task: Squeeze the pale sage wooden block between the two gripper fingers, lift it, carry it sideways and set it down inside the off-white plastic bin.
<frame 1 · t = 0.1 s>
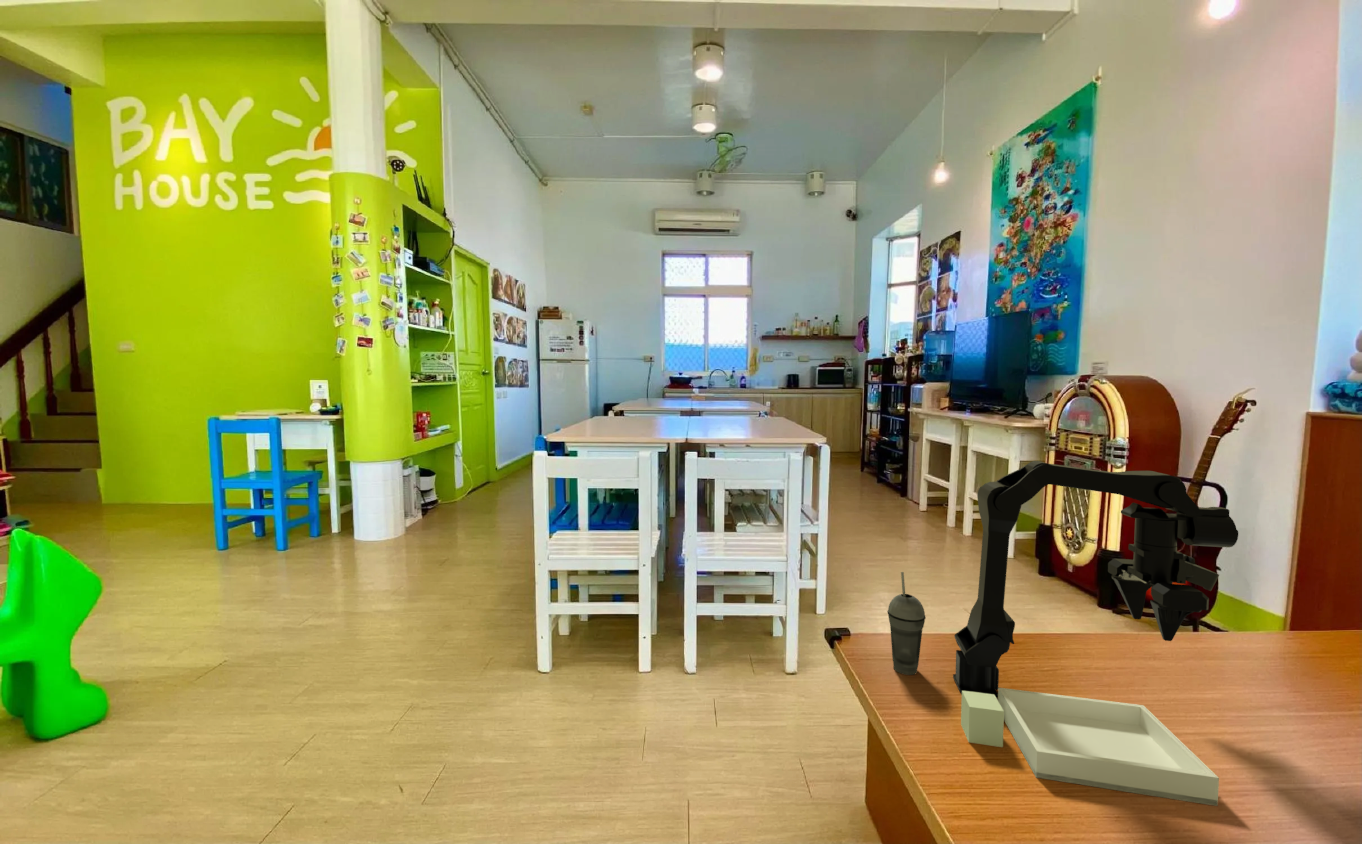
hand: (1151, 629, 96), 15 cm above the table, fingers open, 9 cm apart
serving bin: (1092, 751, 86), on the table
sage block: (981, 735, 90), on the table
beverage cup: (905, 670, 111), on the table
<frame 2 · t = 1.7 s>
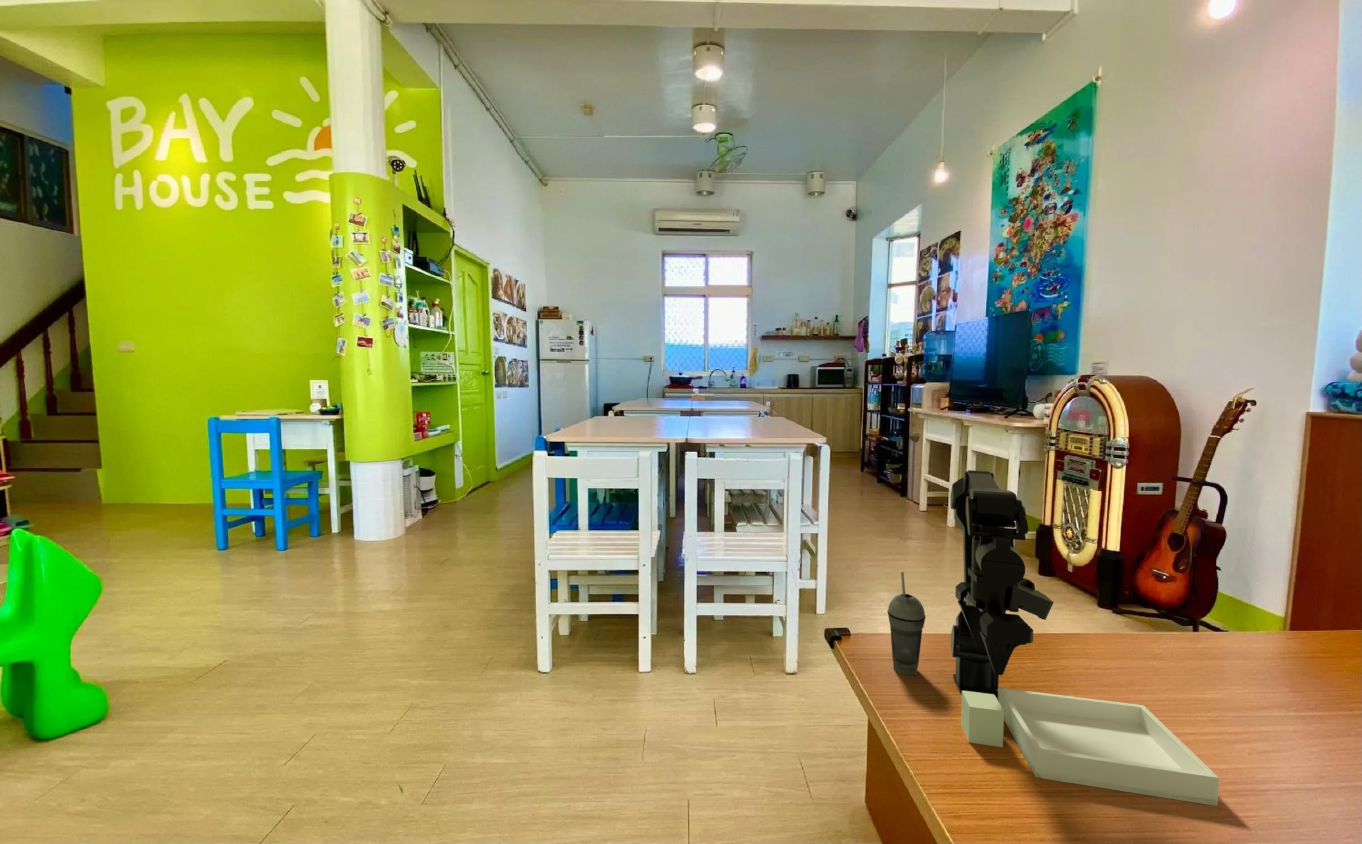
hand: (988, 660, 89), 13 cm above the table, fingers open, 9 cm apart
nothing on the table moved.
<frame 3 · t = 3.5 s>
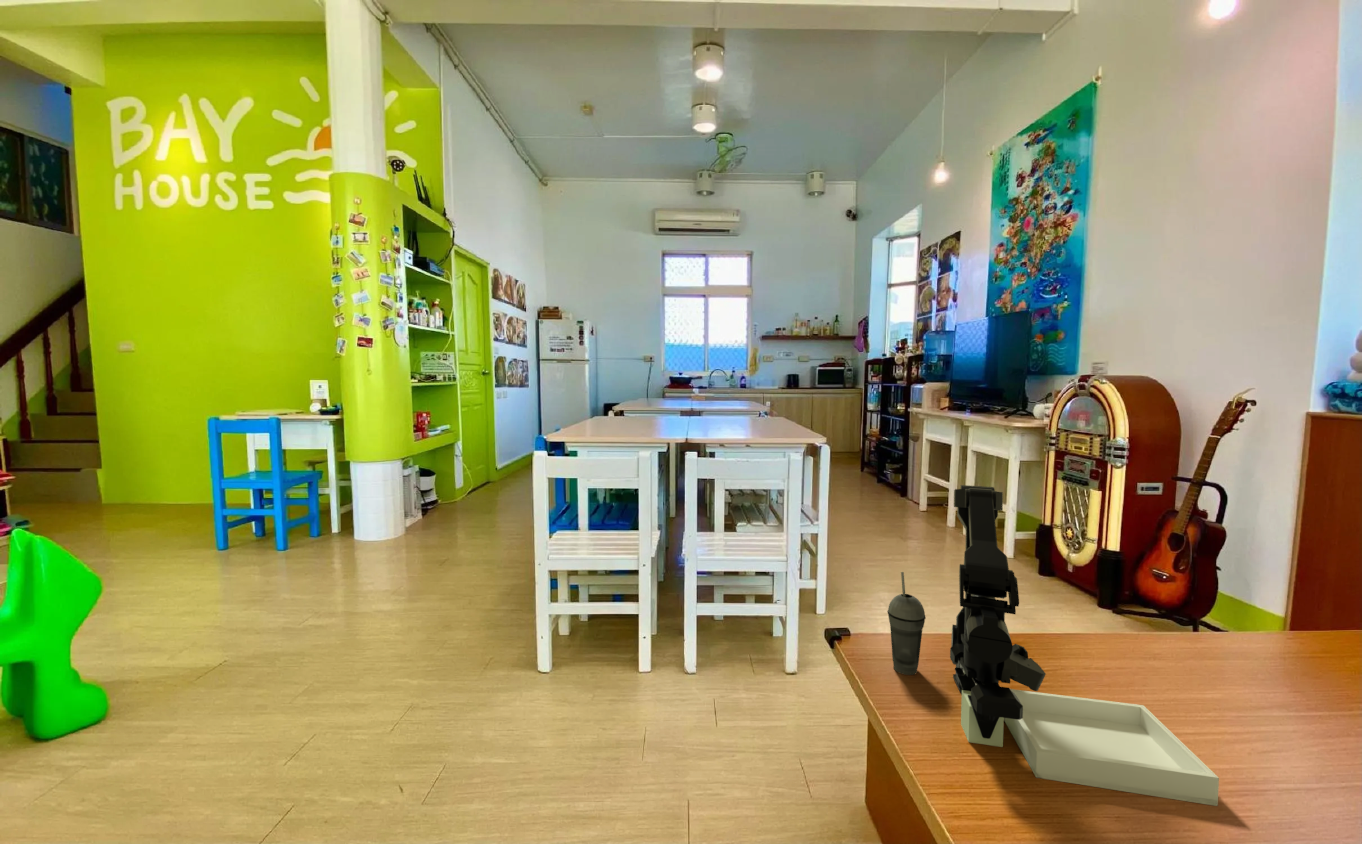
hand: (981, 728, 90), 1 cm above the table, fingers closed on sage block, 5 cm apart
sage block: (981, 735, 90), on the table, touching gripper
everything else where it was.
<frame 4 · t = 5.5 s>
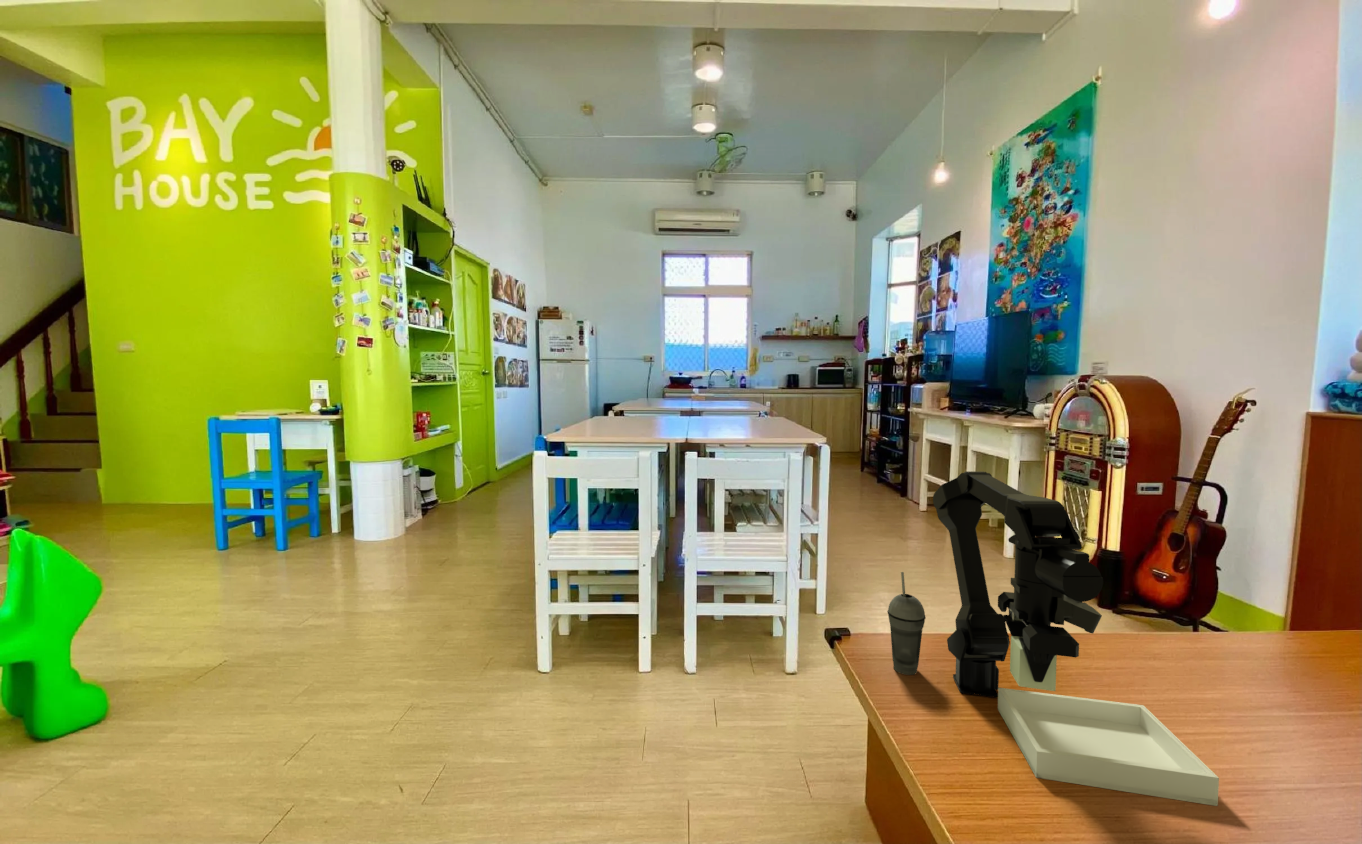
hand: (1032, 673, 87), 12 cm above the table, fingers closed on sage block, 5 cm apart
sage block: (1031, 680, 87), point 10 cm above the table, touching gripper
everything else where it was.
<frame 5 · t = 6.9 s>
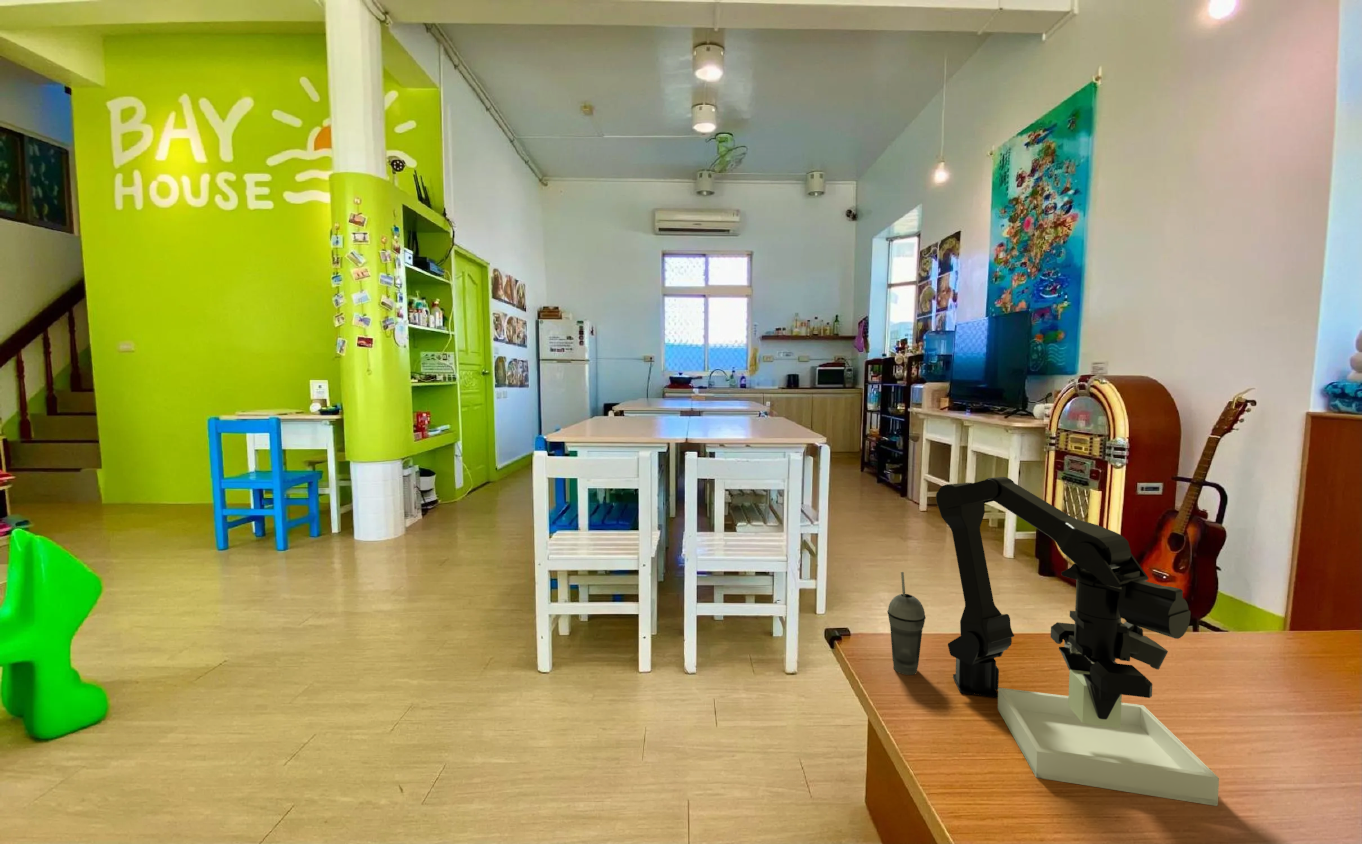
hand: (1093, 708, 85), 7 cm above the table, fingers closed on sage block, 5 cm apart
sage block: (1093, 716, 85), point 6 cm above the table, touching gripper
everything else where it was.
when the fingers open (4 cm above the table, at t = 7.8 s): sage block drops 2 cm, resting on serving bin.
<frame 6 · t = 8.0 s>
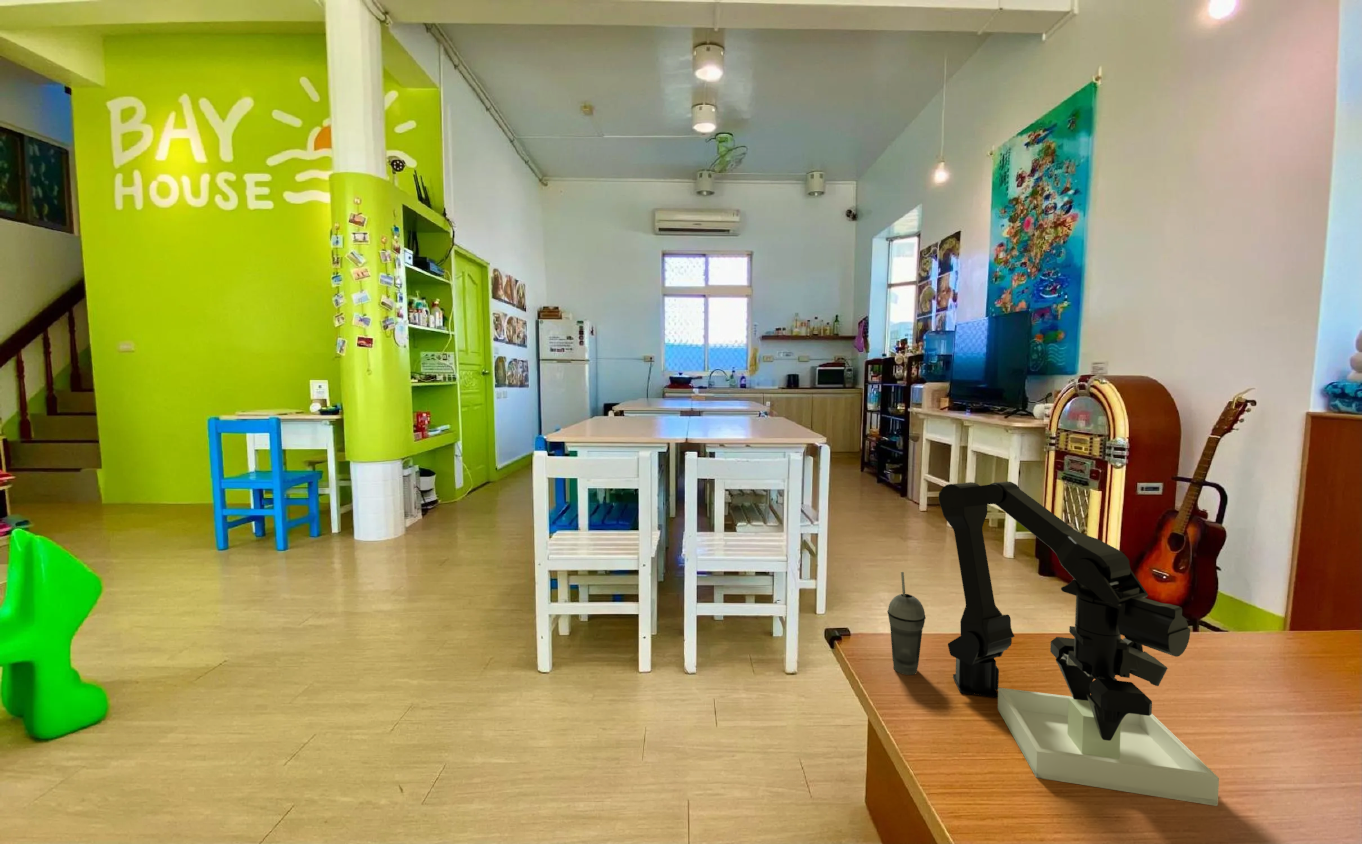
hand: (1093, 724, 85), 4 cm above the table, fingers open, 7 cm apart
sage block: (1092, 746, 86), point 1 cm above the table, touching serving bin
everything else where it was.
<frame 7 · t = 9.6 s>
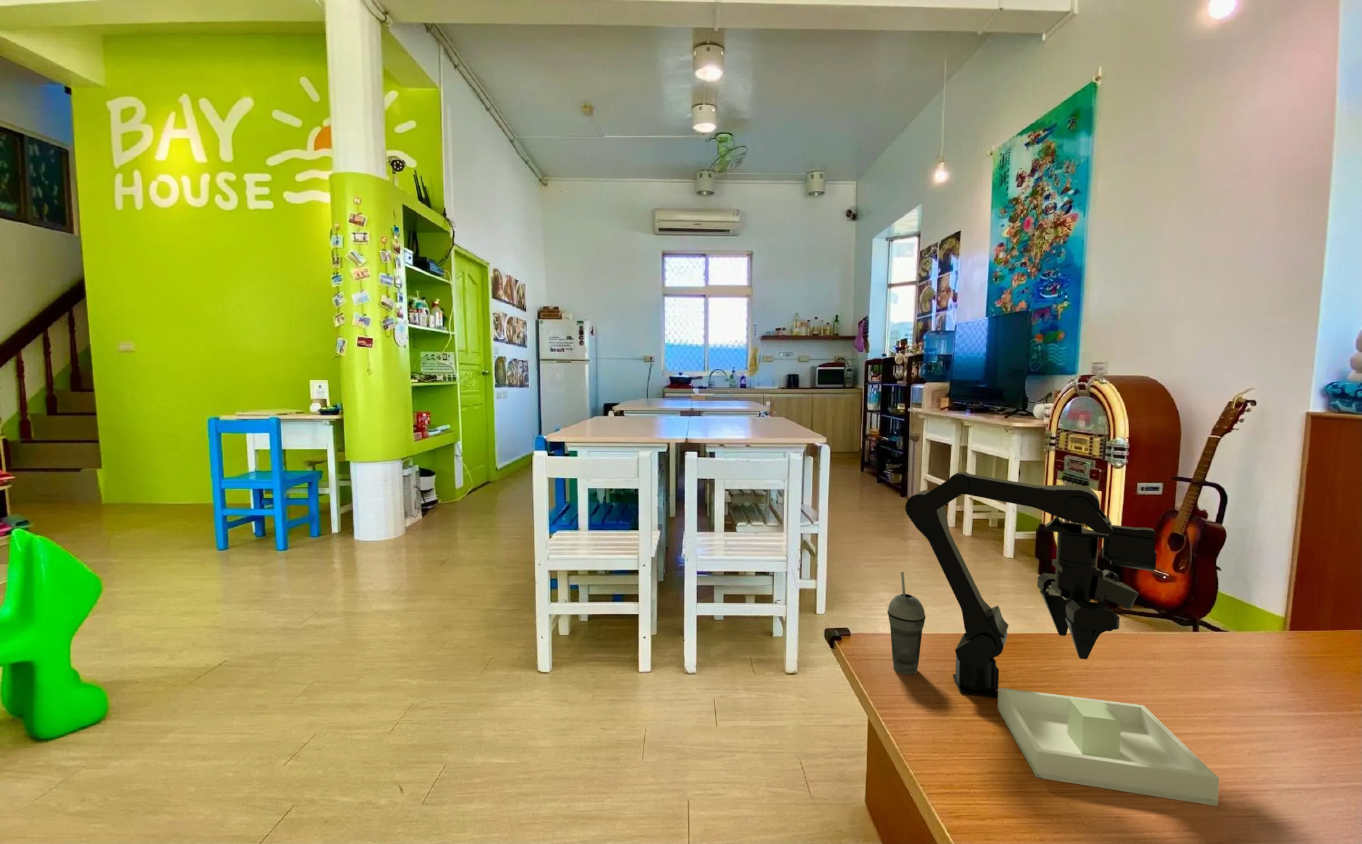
hand: (1072, 646, 95), 12 cm above the table, fingers open, 9 cm apart
nothing on the table moved.
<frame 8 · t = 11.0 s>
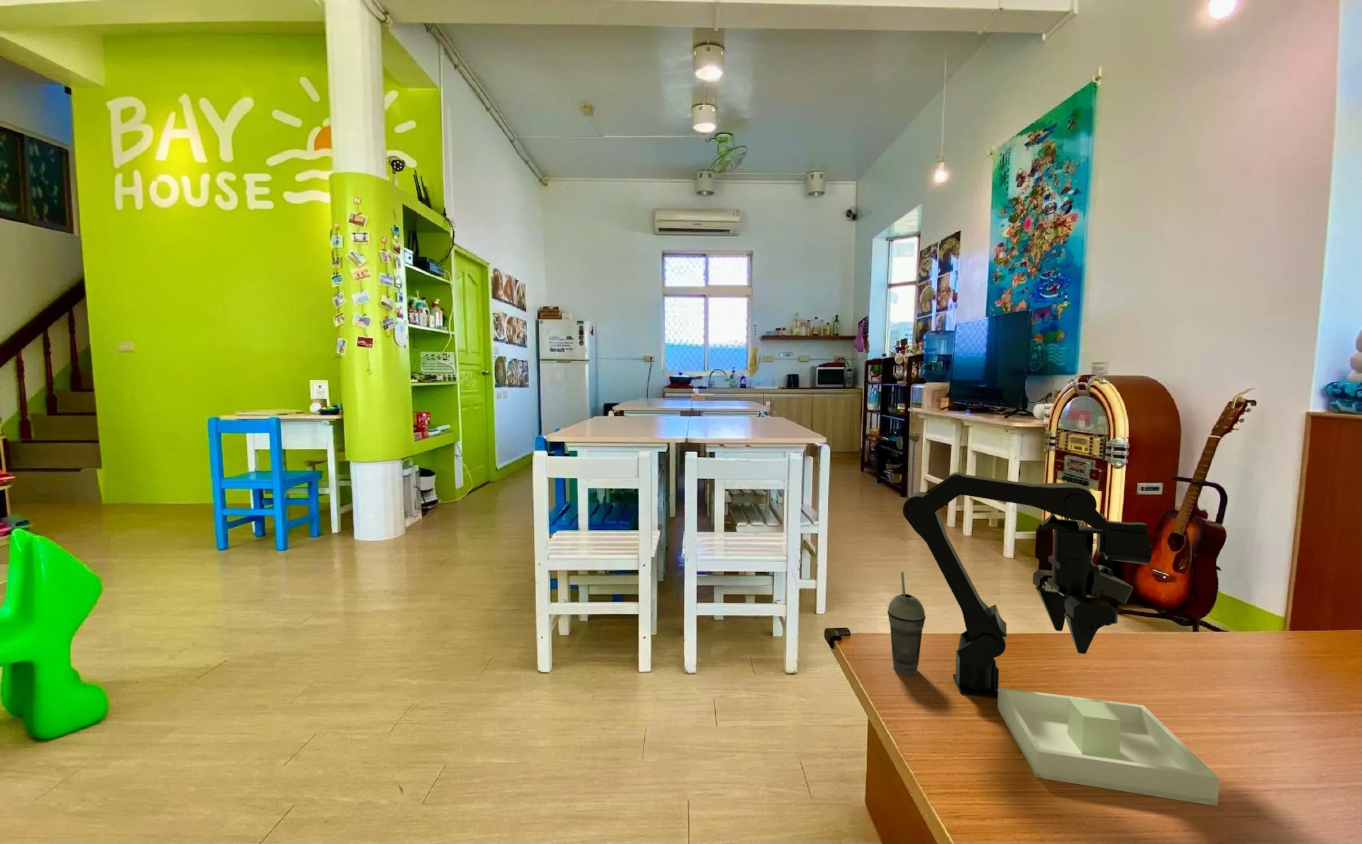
hand: (1069, 641, 96), 13 cm above the table, fingers open, 9 cm apart
nothing on the table moved.
at the end: sage block inside the target area on the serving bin (0.1 cm from its centre), point 0.8 cm above the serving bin's base; sage block tilted 0°; the gripper is holding nothing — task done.
